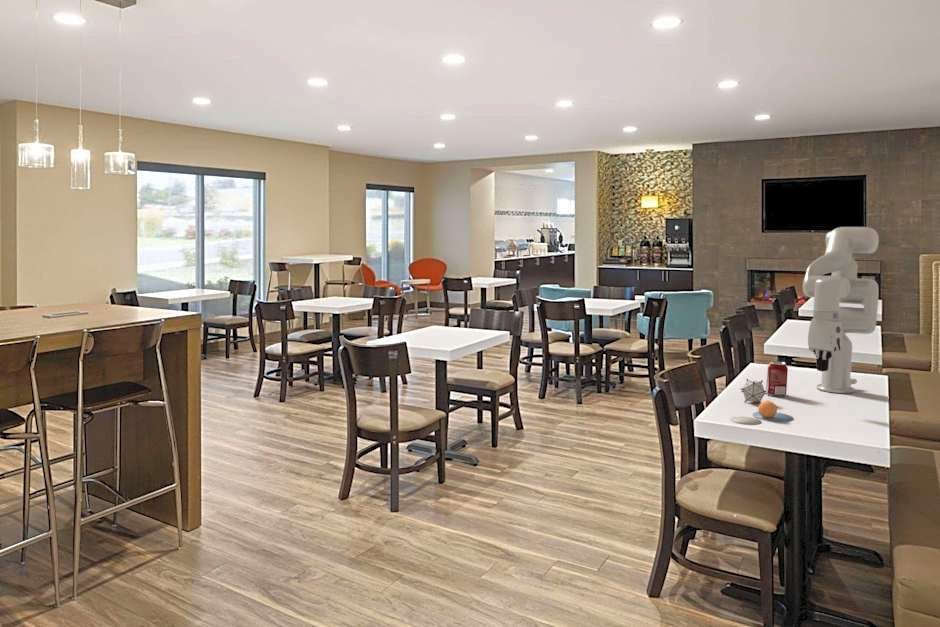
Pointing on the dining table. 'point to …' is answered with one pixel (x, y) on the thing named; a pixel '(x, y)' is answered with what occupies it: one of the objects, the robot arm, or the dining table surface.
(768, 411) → the ball
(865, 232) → the robot arm
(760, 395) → the game die
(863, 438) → the dining table surface
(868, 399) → the dining table surface
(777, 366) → the soda can
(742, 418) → the far disc
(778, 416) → the disc
